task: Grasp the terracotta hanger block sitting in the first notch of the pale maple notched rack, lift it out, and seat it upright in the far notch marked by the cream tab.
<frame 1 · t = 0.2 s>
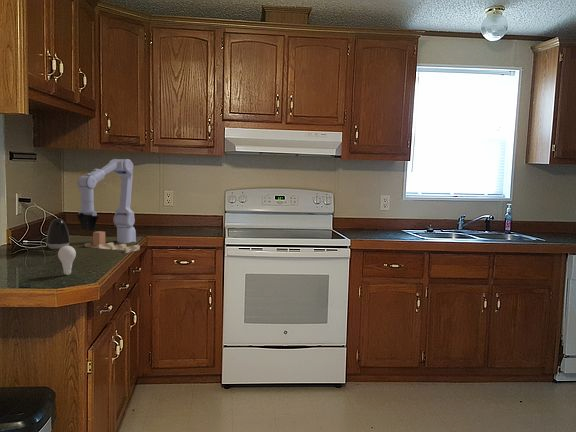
hand: (88, 229, 240), 10 cm above the worktop, fingers open, 7 cm apart
hanger block: (99, 246, 249), point 1 cm above the worktop, touching notched rack
lightbulb: (67, 275, 187), on the worktop
dark grey dome: (58, 250, 242), on the worktop
notched rack: (112, 249, 246), on the worktop
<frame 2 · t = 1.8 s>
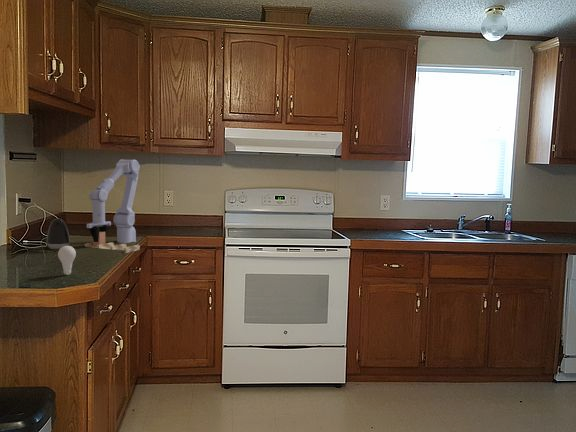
hand: (99, 241, 249), 3 cm above the worktop, fingers closed on hanger block, 4 cm apart
hanger block: (99, 246, 249), point 1 cm above the worktop, touching gripper, notched rack
everything else where it was.
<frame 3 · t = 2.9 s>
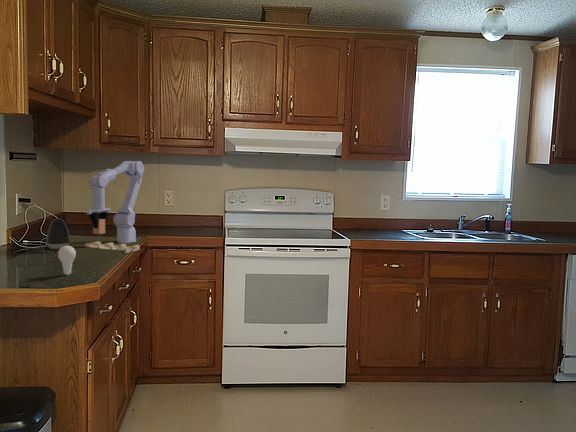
hand: (99, 227, 248), 10 cm above the worktop, fingers closed on hanger block, 4 cm apart
hanger block: (99, 233, 248), point 7 cm above the worktop, touching gripper
everything else where it was.
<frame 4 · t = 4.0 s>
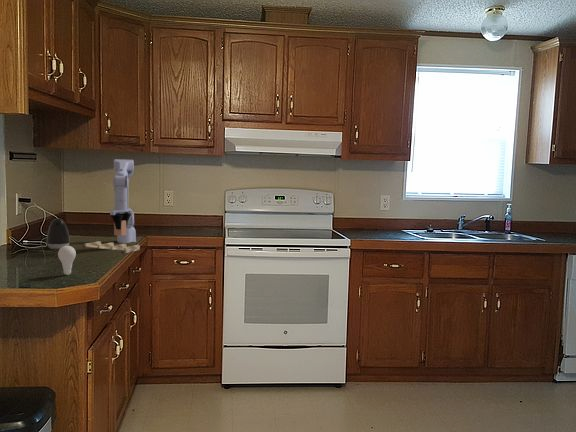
hand: (121, 228, 243), 10 cm above the worktop, fingers closed on hanger block, 4 cm apart
hanger block: (120, 235, 243), point 7 cm above the worktop, touching gripper
everything else where it was.
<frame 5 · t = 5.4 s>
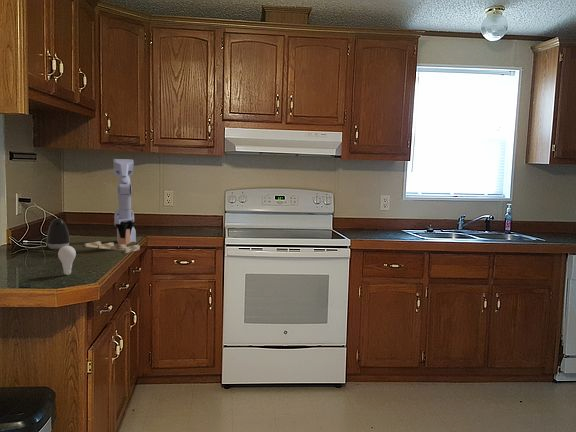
hand: (125, 237, 242), 6 cm above the worktop, fingers closed on hanger block, 4 cm apart
hanger block: (124, 243, 243), point 3 cm above the worktop, touching gripper
everything else where it was.
when the fingers open (4 cm above the worktop, at t = 6.2 s): hanger block stays where it is, resting on notched rack.
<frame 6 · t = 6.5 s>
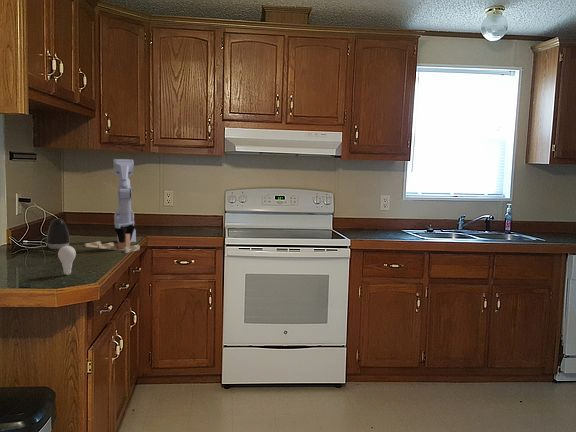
hand: (125, 241, 243), 4 cm above the worktop, fingers open, 6 cm apart
hanger block: (124, 248, 243), point 1 cm above the worktop, touching notched rack
everything else where it was.
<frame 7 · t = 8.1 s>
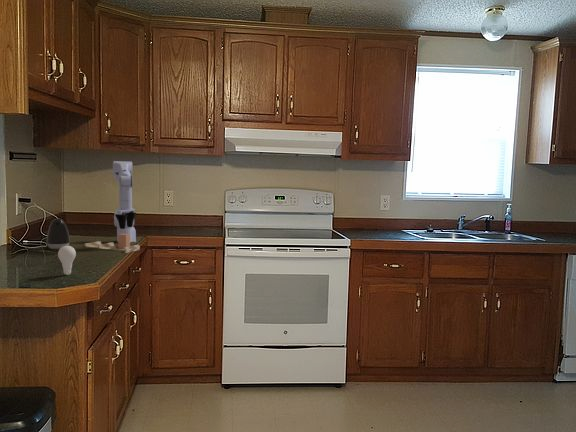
hand: (126, 227, 248), 10 cm above the worktop, fingers open, 7 cm apart
nothing on the worktop moved.
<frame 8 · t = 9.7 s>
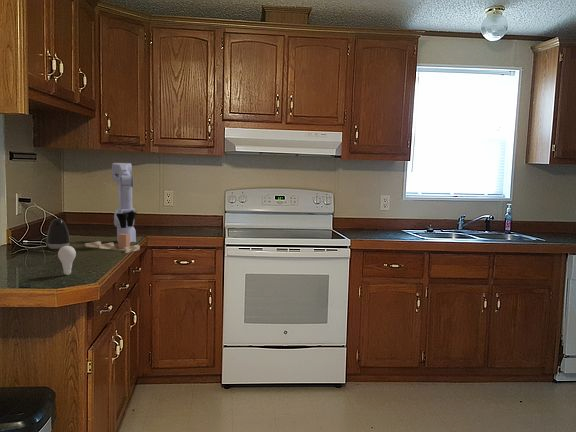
hand: (126, 227, 250), 10 cm above the worktop, fingers open, 7 cm apart
nothing on the worktop moved.
at the end: hanger block 0.5 cm from the target spot on the notched rack, point 1.0 cm above the notched rack's base; hanger block tilted 0°; the gripper is holding nothing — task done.
